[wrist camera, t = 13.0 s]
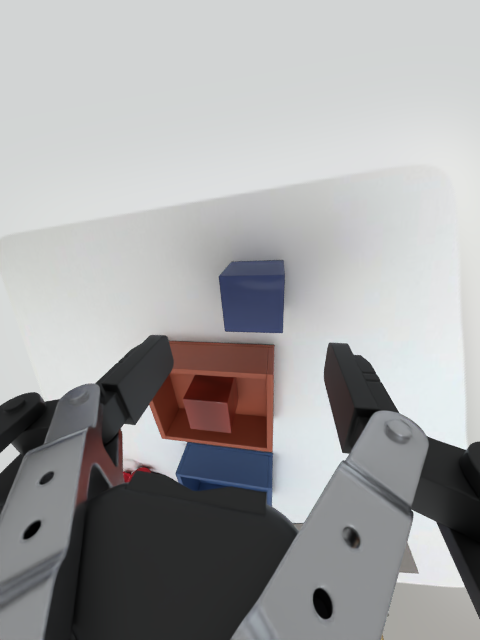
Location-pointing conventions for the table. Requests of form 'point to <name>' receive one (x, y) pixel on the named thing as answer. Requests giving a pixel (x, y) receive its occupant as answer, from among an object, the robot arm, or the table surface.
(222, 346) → the terracotta bin
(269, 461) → the blue bin
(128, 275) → the table surface
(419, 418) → the table surface
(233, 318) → the navy block
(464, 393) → the table surface
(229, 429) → the red block
